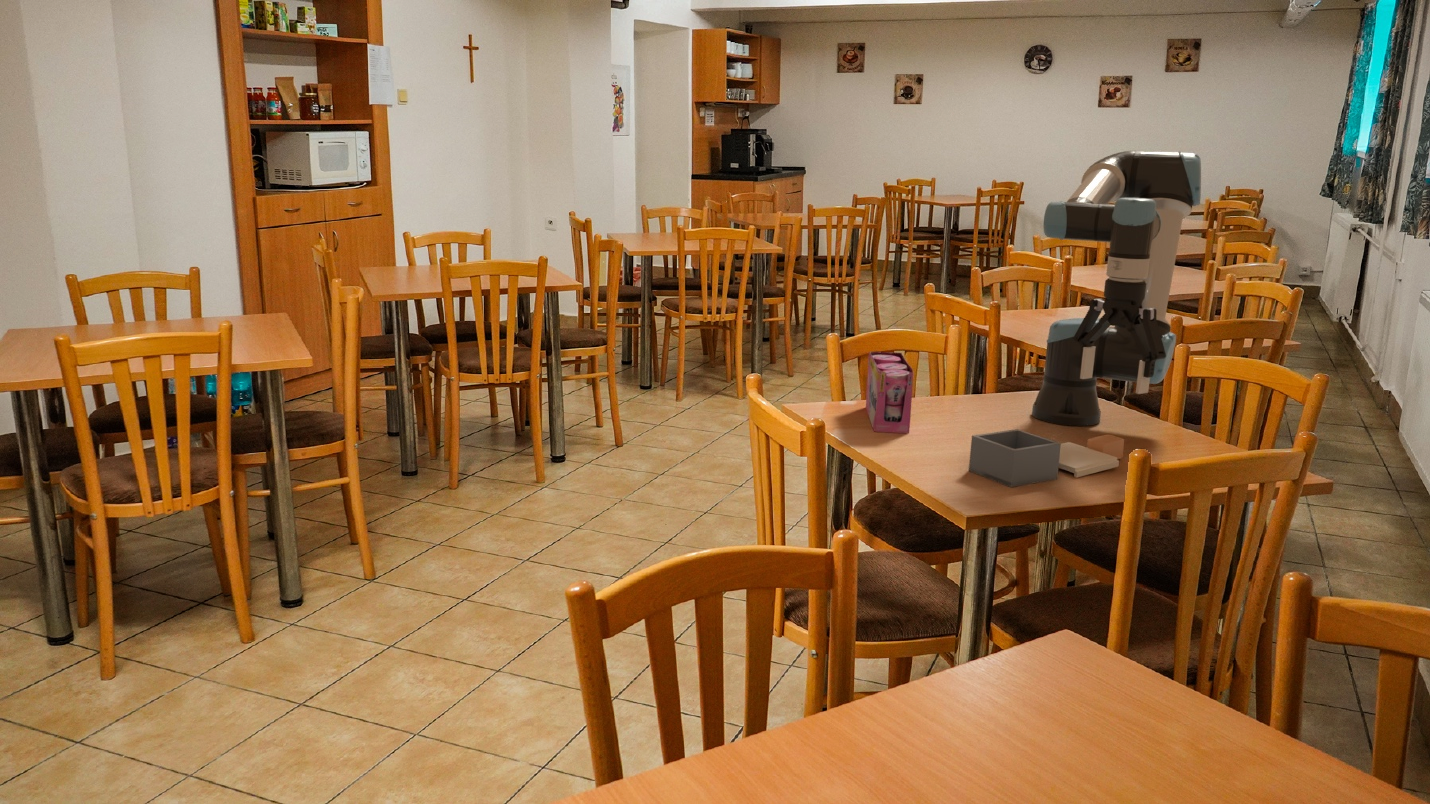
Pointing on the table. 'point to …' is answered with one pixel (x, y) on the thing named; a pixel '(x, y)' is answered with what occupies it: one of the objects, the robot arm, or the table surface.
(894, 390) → the gum box
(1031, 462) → the tub
